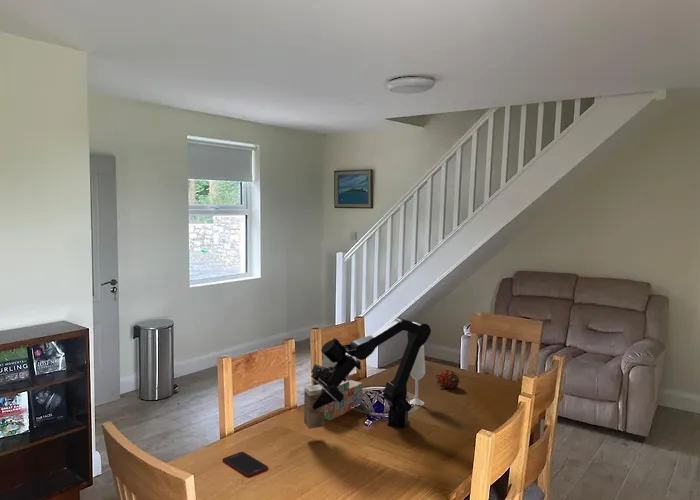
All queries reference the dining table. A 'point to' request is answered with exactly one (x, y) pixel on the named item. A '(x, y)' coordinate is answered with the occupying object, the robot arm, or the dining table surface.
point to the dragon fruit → (448, 379)
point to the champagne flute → (418, 374)
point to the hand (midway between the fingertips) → (310, 405)
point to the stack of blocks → (345, 399)
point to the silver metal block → (312, 416)
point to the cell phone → (245, 464)
